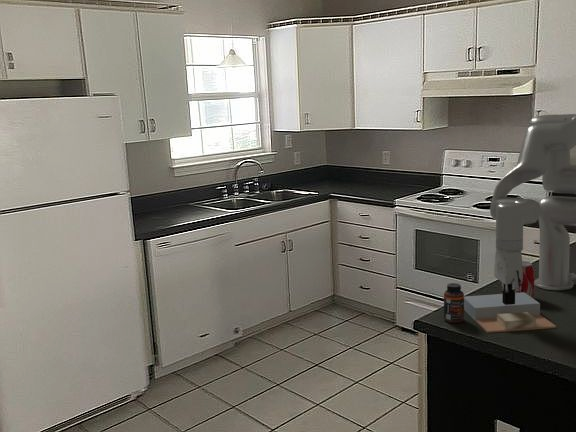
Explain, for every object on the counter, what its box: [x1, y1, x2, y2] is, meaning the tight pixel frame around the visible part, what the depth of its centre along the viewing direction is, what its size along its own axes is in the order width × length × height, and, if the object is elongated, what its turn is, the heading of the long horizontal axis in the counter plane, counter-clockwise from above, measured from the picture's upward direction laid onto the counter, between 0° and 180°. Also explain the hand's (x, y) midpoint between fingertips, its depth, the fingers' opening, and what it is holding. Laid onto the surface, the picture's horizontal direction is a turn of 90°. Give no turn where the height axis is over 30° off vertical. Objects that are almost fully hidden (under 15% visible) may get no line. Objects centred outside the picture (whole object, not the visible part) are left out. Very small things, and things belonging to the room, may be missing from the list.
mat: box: [474, 313, 557, 334], centre depth 173 cm, size 20×10×1 cm, turn 93°
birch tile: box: [497, 312, 536, 329], centre depth 172 cm, size 9×6×2 cm, turn 92°
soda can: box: [515, 260, 535, 299], centre depth 194 cm, size 7×7×12 cm
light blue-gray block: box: [464, 292, 541, 321], centre depth 183 cm, size 20×11×4 cm, turn 93°
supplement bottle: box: [443, 282, 465, 324], centre depth 178 cm, size 6×6×11 cm
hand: (508, 303), depth 176 cm, fingers closed
